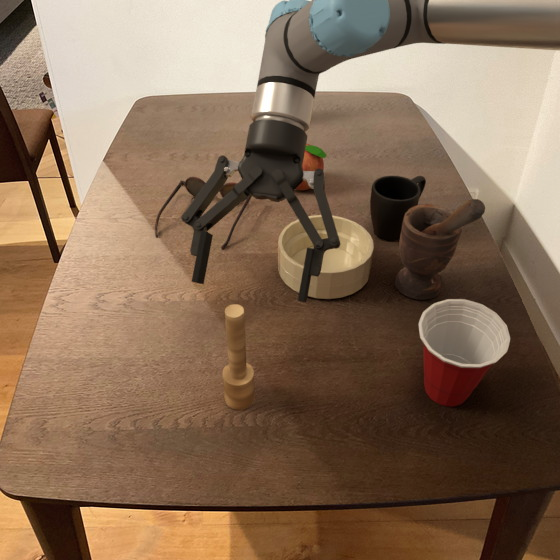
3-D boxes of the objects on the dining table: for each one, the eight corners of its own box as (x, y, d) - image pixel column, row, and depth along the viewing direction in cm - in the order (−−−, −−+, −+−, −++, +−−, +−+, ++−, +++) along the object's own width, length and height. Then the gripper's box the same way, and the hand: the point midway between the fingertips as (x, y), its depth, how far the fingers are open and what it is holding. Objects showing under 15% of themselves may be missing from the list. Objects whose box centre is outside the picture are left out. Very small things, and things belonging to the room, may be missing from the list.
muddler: (259, 390, 78) (257, 303, 67) (247, 413, 75) (243, 326, 64) (231, 382, 79) (225, 295, 68) (219, 404, 76) (211, 317, 65)
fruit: (307, 202, 112) (309, 156, 105) (268, 186, 116) (268, 141, 110) (332, 184, 117) (335, 139, 110) (294, 169, 121) (295, 125, 115)
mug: (434, 227, 106) (444, 182, 100) (390, 252, 100) (398, 206, 94) (400, 207, 111) (408, 163, 105) (356, 230, 105) (362, 185, 99)
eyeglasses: (253, 205, 111) (252, 182, 108) (228, 251, 100) (226, 227, 97) (182, 194, 114) (179, 171, 111) (150, 237, 103) (146, 214, 100)
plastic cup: (389, 396, 77) (403, 334, 69) (426, 348, 83) (442, 286, 76) (466, 439, 72) (490, 377, 64) (499, 385, 79) (524, 322, 71)
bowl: (378, 253, 100) (382, 225, 96) (356, 311, 89) (360, 282, 85) (295, 235, 104) (296, 207, 100) (265, 288, 93) (264, 259, 89)
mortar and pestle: (471, 290, 93) (504, 183, 80) (449, 321, 88) (480, 211, 75) (406, 263, 98) (427, 158, 85) (382, 290, 93) (400, 183, 80)
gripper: (377, 149, 75) (349, 310, 74) (195, 126, 79) (166, 278, 78) (377, 129, 67) (346, 308, 66) (177, 105, 72) (144, 272, 71)
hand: (249, 292), depth 72 cm, fingers open, 13 cm apart
